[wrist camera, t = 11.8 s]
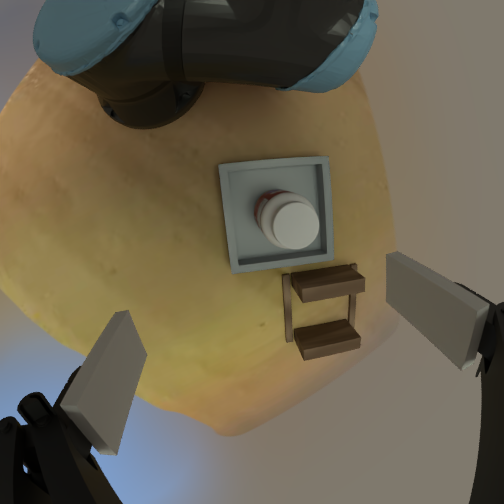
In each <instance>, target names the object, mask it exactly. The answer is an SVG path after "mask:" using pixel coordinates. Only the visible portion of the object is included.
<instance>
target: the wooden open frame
mask: <svg viewBox="0 0 504 504" xmlns="http://www.w3.org/2000/svg"><path fill="white" fill-rule="evenodd" d="M291 277H292V287H293V288H294V290H295V291H296V293H297V295H298V296H299V298H300V299H301V301H302V303H306V302H312V301H318V300H323V299H329V298H334V297H340V296H345V295H349V311H348V321H347V320H346V319H343V320H339V321H334V322H329V323H324V324H319V325H313V326H308V327H303V328H297V329H294V339H295V342H296V344H297V346H298V349H299V351H300V353H301V355H302V358H303V360H304V361H305V360H310V359H315V358H320V357H324V356H329V355H333V354H337V353H342V352H346V351H350V350H354V349H358V348H360V342H361V337H360V336H359V334H358V333H357V332H356V331H355V329H354V324H355V309H356V293H360V292H365V278H364V277H363V276H362V275H361V274H359V273H358V272H357V264H356V263H354V264H350V266H349V265H342V266H335V267H329V268H322V269H316V270H309V271H302V272H295V273H291ZM282 284H283V298H284V314H285V331H286V342H287V343H288V342H293V333H292V311H291V292H290V275H289V273H288V274H282Z"/></svg>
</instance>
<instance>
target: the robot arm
mask: <svg viewBox="0 0 504 504" xmlns="http://www.w3.org/2000/svg"><path fill="white" fill-rule="evenodd" d="M377 18H378V6H377V2H376V1H375V0H46V2H45V3H44V5H43V6H42V8H41V10H40V12H39V15H38V17H37V20H36V23H35V26H34V32H33V44H34V49H35V51H36V53H37V55H38V56H39V58H40V59H41V60H42V61H43V62H45V63H46V64H47V65H48V66H49V67H51V69H52V70H53V71H54V72H55V73H57V74H59V75H63V76H66V77H68V78H70V79H72V80H73V81H75V82H77V83H79V84H81V85H82V86H84V87H86V88H88V89H89V90H91V91H93V92H95V93H96V94H97V96H98V99H99V102H100V104H101V106H102V108H103V110H104V111H105V112H106V113H107V114H108V115H109V116H110V117H111V118H112V119H113V120H115V121H117V122H118V123H121V124H123V125H125V126H127V127H131V128H135V129H152V128H157V127H161V126H164V125H167V124H169V123H171V122H173V121H175V120H176V119H178V118H179V117H181V116H182V115H184V114H185V113H186V112H187V111H188V110H189V109H190V108H191V107H192V106H193V105H194V103H195V102H196V101H197V99H198V98H199V96H200V94H201V92H202V90H203V87H204V84H205V82H222V83H236V84H247V85H257V86H265V87H273V88H275V89H276V90H280V91H289V90H298V91H306V92H312V93H324V92H327V91H329V90H332V89H336V88H338V87H340V86H341V85H342V84H344V83H345V82H346V81H347V80H349V79H350V78H351V77H352V76H353V74H354V73H355V72H356V71H357V70H358V68H359V67H360V65H361V64H362V62H363V61H364V59H365V58H366V56H367V54H368V52H369V50H370V48H371V46H372V43H373V40H374V38H375V34H376V30H377V25H376V24H375V23H374V22H375V20H376V19H377ZM386 302H387V303H388V304H389V305H390V306H392V307H393V308H394V309H395V310H396V311H397V312H398V313H400V314H401V315H402V316H403V317H404V318H405V319H406V320H407V321H408V322H410V323H411V324H412V325H413V326H414V327H415V328H416V329H417V330H419V331H420V332H421V333H422V334H423V335H424V336H425V337H426V338H427V339H428V340H429V341H430V342H431V343H433V344H434V345H435V346H436V347H437V348H438V349H439V350H440V351H441V352H442V353H443V354H444V355H445V356H446V357H447V358H448V359H450V360H451V362H452V363H454V364H455V365H456V366H457V367H458V368H459V369H460V370H461V371H463V370H464V369H466V368H467V367H469V366H470V365H472V364H473V363H474V361H475V358H476V355H477V352H479V353H480V354H482V358H481V362H480V364H479V367H478V370H477V372H476V377H478V375H479V372H480V371H481V383H482V384H481V388H482V410H481V429H480V442H479V451H478V459H477V467H476V472H475V478H474V483H473V488H472V493H471V497H470V501H469V504H504V302H502V303H499V304H498V305H495V304H494V303H492V302H490V301H489V300H487V299H485V298H484V297H482V296H481V295H479V294H476V292H474V291H472V290H470V289H469V288H467V287H466V286H464V285H462V284H459V283H456V282H452V281H451V280H449V279H447V278H445V277H444V276H442V275H440V274H438V273H436V272H435V271H433V270H431V269H430V268H428V267H426V266H424V265H422V264H420V263H419V262H417V261H415V260H413V259H411V258H409V257H407V256H406V255H404V254H402V253H400V252H398V251H397V252H393V253H389V254H386ZM146 357H147V353H146V351H145V349H144V346H143V344H142V342H141V340H140V337H139V335H138V333H137V330H136V328H135V325H134V323H133V320H132V318H131V315H130V313H129V310H126V311H120V312H115V314H114V315H113V317H112V318H111V320H110V321H109V323H108V324H107V326H106V327H105V329H104V331H103V332H102V334H101V335H100V337H99V338H98V340H97V342H96V343H95V345H94V346H93V348H92V350H91V351H90V353H89V355H88V356H87V358H86V360H85V361H84V363H83V365H82V366H79V367H78V368H77V369H76V370H75V371H74V372H73V373H72V374H71V376H70V378H69V380H68V383H66V384H65V386H64V389H63V390H62V391H61V393H60V395H59V397H58V399H57V400H56V402H55V404H54V406H53V407H52V406H51V405H50V403H49V402H48V401H47V399H46V398H45V396H44V395H43V394H42V393H40V392H33V393H30V394H28V395H27V396H25V397H24V398H23V399H22V400H21V401H20V403H19V405H18V408H17V411H18V412H19V414H20V415H21V416H22V417H23V418H24V420H25V421H26V422H27V423H28V425H20V423H19V422H18V421H17V420H16V418H14V417H12V416H9V417H6V418H3V419H2V420H0V504H123V503H122V502H121V500H120V499H119V497H118V496H117V494H116V493H115V491H114V490H113V488H112V487H111V485H110V483H109V482H108V480H107V479H106V477H105V475H104V473H103V472H102V470H101V468H100V466H99V465H98V463H97V461H96V459H95V457H94V456H93V455H92V454H91V453H90V450H91V447H92V446H93V447H94V448H95V449H96V450H97V451H98V452H99V453H100V454H105V455H117V453H118V449H119V446H120V442H121V438H122V434H123V431H124V427H125V424H126V421H127V417H128V414H129V410H130V407H131V404H132V400H133V397H134V394H135V391H136V388H137V385H138V381H139V378H140V375H141V372H142V369H143V366H144V363H145V360H146ZM23 465H24V466H26V467H27V468H28V472H27V473H25V472H24V469H23Z"/></svg>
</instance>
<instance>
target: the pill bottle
mask: <svg viewBox="0 0 504 504" xmlns="http://www.w3.org/2000/svg"><path fill="white" fill-rule="evenodd" d="M254 217H255V221H256V223H257V225H258V226H259V228H260V230H261V231H262V232H263V234H264V235H265V237H266V238H267V239H268V240H269V241H270V242H271V243H272V244H273V245H275V246H277V247H280V248H284V249H302V248H305V247H307V246H308V245H310V244H311V243H312V242H313V241H314V240H315V238H316V236H317V234H318V231H319V219H318V216H317V214H316V212H315V210H314V208H313V206H312V204H311V203H310V202H309V201H308V200H307V199H306V198H305V197H303V196H301V195H299V194H297V193H293V192H289V191H285V190H280V189H276V190H270V191H268V192H266V193H264V194H263V195H262V196H260V198H259V199H258V200H257V202H256V204H255V208H254Z"/></svg>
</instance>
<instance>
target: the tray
mask: <svg viewBox="0 0 504 504" xmlns="http://www.w3.org/2000/svg"><path fill="white" fill-rule="evenodd" d="M219 174H220V183H221V192H222V200H223V209H224V217H225V225H226V233H227V241H228V249H229V256H230V264H231V272H232V274H236V273H244V272H251V271H259V270H266V269H274V268H281V267H288V266H295V265H302V264H309V263H316V262H323V261H330V260H334V236H333V212H332V194H331V180H330V167H329V156H317V157H297V158H281V159H268V160H257V161H246V162H237V163H228V164H219ZM276 189H280V190H285V191H289V192H293V193H297V194H299V195H301V196H303V197H305V198H306V199H307V200H308V201H309V202H310V203H311V204H312V206H313V208H314V210H315V212H316V214H317V216H318V219H319V231H318V234H317V236H316V238H315V240H314V241H313V242H312V243H311V244H310V245H308V246H307V247H305V248H302V249H284V248H280V247H277V246H275V245H273V244H272V243H271V242H270V241H269V240H268V239H267V238H266V237H265V235H264V234H263V232H262V231H261V230H260V228H259V226H258V225H257V223H256V221H255V217H254V208H255V204H256V202H257V200H258V199H259V198H260V196H262V195H263V194H264V193H266V192H268V191H270V190H276Z"/></svg>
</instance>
